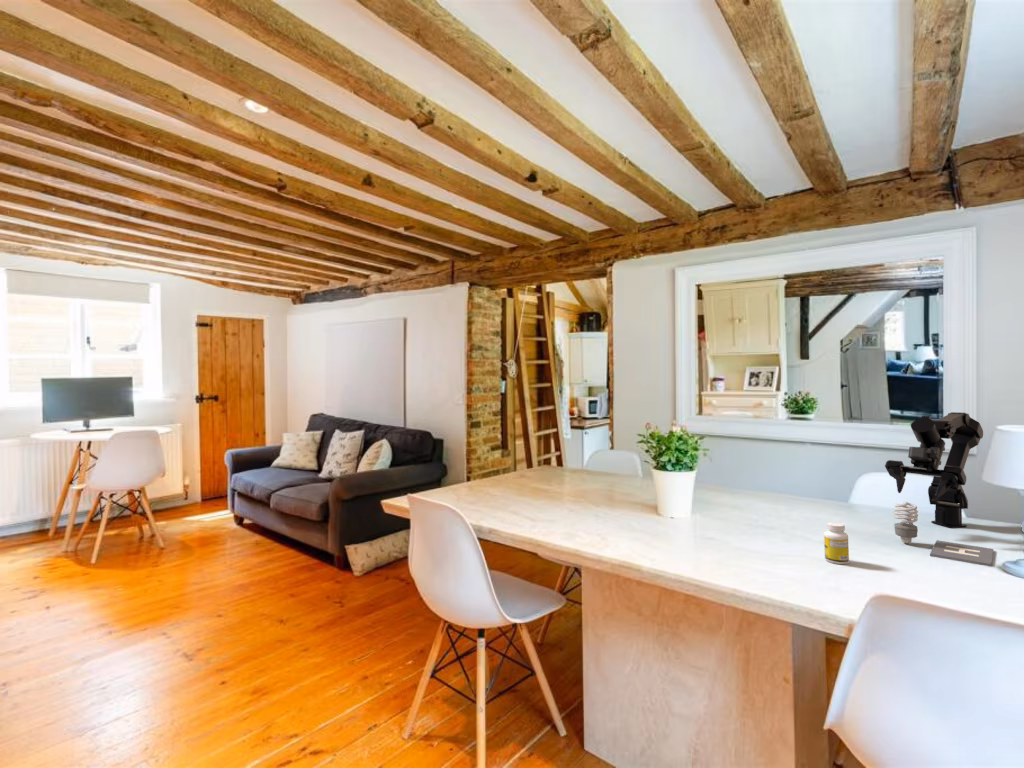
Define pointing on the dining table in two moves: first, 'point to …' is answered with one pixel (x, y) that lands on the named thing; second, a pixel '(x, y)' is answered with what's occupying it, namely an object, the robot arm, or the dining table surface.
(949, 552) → the board
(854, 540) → the dining table surface
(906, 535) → the light bulb
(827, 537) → the supplement bottle
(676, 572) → the dining table surface
